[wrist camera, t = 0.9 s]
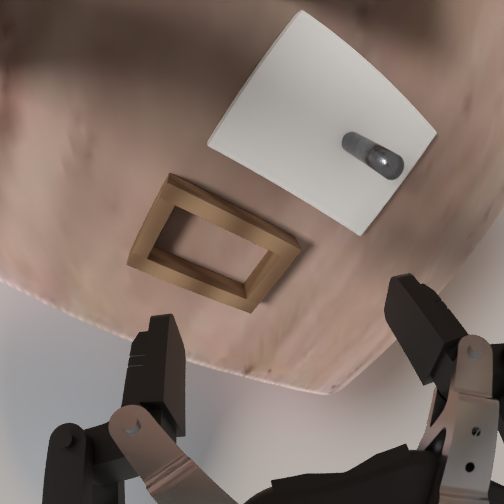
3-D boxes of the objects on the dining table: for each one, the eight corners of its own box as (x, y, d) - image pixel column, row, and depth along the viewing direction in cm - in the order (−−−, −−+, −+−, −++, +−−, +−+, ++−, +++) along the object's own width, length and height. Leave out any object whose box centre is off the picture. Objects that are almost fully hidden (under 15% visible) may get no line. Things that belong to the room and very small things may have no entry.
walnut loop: (130, 250, 30) (126, 264, 28) (169, 172, 27) (167, 182, 25) (247, 298, 36) (251, 313, 34) (294, 236, 33) (301, 249, 31)
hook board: (207, 141, 26) (207, 145, 25) (296, 12, 21) (302, 9, 19) (354, 229, 33) (360, 236, 32) (428, 129, 28) (436, 132, 27)
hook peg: (337, 144, 26) (376, 170, 21) (350, 127, 26) (392, 148, 20) (353, 156, 27) (393, 184, 21) (365, 139, 26) (408, 164, 21)
